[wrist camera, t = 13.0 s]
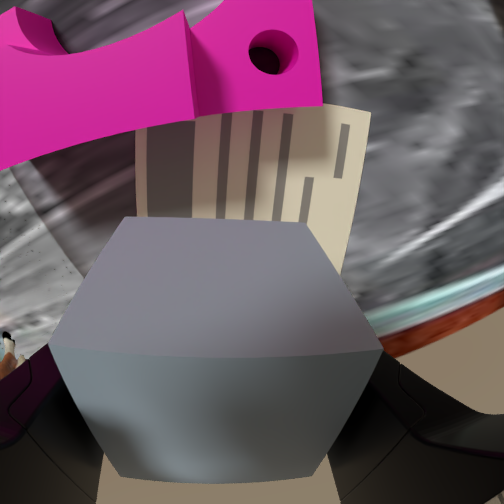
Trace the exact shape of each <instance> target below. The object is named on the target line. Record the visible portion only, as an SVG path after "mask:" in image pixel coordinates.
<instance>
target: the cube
mask: <svg viewBox="0 0 504 504" xmlns="http://www.w3.org/2000/svg"><path fill="white" fill-rule="evenodd" d="M48 345H49V348H50V350H51V353H52V355H53V357H54V360H55V362H56V364H57V366H58V369H59V371H60V373H61V375H62V377H63V379H64V382H65V384H66V386H67V388H68V390H69V392H70V394H71V396H72V398H73V400H74V402H75V403H76V405H77V407H78V409H79V411H80V413H81V415H82V416H83V418H84V420H85V422H86V424H87V425H88V427H89V429H90V430H91V432H92V434H93V435H94V437H95V439H96V440H97V442H98V444H99V445H100V447H101V448H102V450H103V451H104V453H105V455H106V456H107V457H108V459H109V461H110V462H111V464H112V465H113V466H114V468H115V469H116V471H117V472H118V474H119V475H120V476H121V477H127V478H135V479H143V480H152V481H163V482H177V483H205V484H208V483H209V484H220V483H221V484H224V483H250V482H265V481H276V480H286V479H294V478H302V477H309V476H312V475H313V474H314V472H315V471H316V469H317V468H318V466H319V465H320V463H321V462H322V460H323V458H324V457H325V456H326V454H327V452H328V451H329V449H330V448H331V446H332V445H333V443H334V441H335V440H336V438H337V436H338V435H339V433H340V431H341V430H342V428H343V426H344V425H345V423H346V421H347V419H348V418H349V416H350V414H351V412H352V411H353V409H354V407H355V405H356V403H357V402H358V400H359V398H360V396H361V394H362V392H363V390H364V388H365V386H366V385H367V383H368V381H369V379H370V377H371V375H372V373H373V371H374V369H375V366H376V364H377V362H378V360H379V358H380V356H381V354H382V352H383V349H384V348H383V346H382V345H381V343H380V341H379V339H378V338H377V336H376V334H375V333H374V331H373V329H372V328H371V326H370V324H369V323H368V321H367V319H366V317H365V316H364V314H363V312H362V311H361V309H360V308H359V306H358V304H357V303H356V301H355V299H354V298H353V296H352V294H351V293H350V291H349V290H348V288H347V286H346V285H345V283H344V282H343V280H342V278H341V277H340V275H339V274H338V272H337V271H336V269H335V267H334V266H333V264H332V263H331V261H330V260H329V258H328V256H327V255H326V253H325V252H324V250H323V249H322V247H321V246H320V244H319V243H318V241H317V240H316V238H315V237H314V235H313V234H312V232H311V231H310V229H309V228H308V226H307V225H306V223H302V222H283V221H262V220H238V219H211V218H175V217H124V219H123V220H122V222H121V223H120V224H119V226H118V227H117V229H116V230H115V232H114V233H113V235H112V236H111V238H110V239H109V241H108V242H107V244H106V245H105V247H104V248H103V250H102V251H101V253H100V254H99V256H98V257H97V259H96V261H95V262H94V264H93V265H92V267H91V269H90V270H89V272H88V273H87V275H86V277H85V278H84V280H83V282H82V283H81V285H80V287H79V288H78V290H77V292H76V293H75V295H74V297H73V299H72V300H71V302H70V304H69V306H68V307H67V309H66V311H65V313H64V315H63V316H62V318H61V320H60V322H59V324H58V326H57V327H56V329H55V331H54V333H53V335H52V337H51V339H50V341H49V343H48Z"/></svg>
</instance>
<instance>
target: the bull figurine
mask: <svg viewBox="0 0 504 504" xmlns="http://www.w3.org/2000/svg"><path fill="white" fill-rule="evenodd" d="M2 337H3V341H4V344H5V356H4V359H3V360H2V362H1V363H0V380H1V379H2V378H4V377H5V376H6V375H8V374H9V373H10V372H12V371H13V370H14V369H15V368H17V367H18V366H19V365H21V364H22V363H23V362H24V361H26V360H27V359H25V358H24V356H20V357H19V358H18V360H16V358H15V355H14V347H15V340H14V339H13V340H12V339H11V335H10V334H9V333H8V332H5V331H4V332H3V334H2Z"/></svg>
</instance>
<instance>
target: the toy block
mask: <svg viewBox="0 0 504 504" xmlns="http://www.w3.org/2000/svg"><path fill="white" fill-rule="evenodd" d="M255 47H265V48H268V49H270V50H272V51H273V52H274V53H275V54H276V55H277V57H278V59H279V63H280V67H279V71H278V73H277V75H271V74H266V73H264V72H262V71H260V70H258V69H257V68H256V67H255V66H254V65H253V63H252V62H251V60H250V58H249V53H248V50H250V49H252V48H255ZM315 106H323V99H322V86H321V75H320V64H319V54H318V45H317V36H316V28H315V20H314V12H313V5H312V0H224V1H223V2H222V3H221V4H220V5H219V6H218V7H217V8H216V9H215V10H214V11H213V12H211V13H210V14H209V15H208V16H206V17H205V18H204V19H203V20H201V21H200V22H199V23H197V24H196V25H194V26H193V27H192V28H189V25H188V22H187V19H186V17H185V14H184V11H183V10H182V11H180V12H178V13H177V14H175V15H173V16H171V17H170V18H168V19H166V20H165V21H163V22H161V23H159V24H157V25H155V26H153V27H151V28H149V29H147V30H145V31H143V32H140V33H138V34H136V35H134V36H131V37H129V38H127V39H124V40H121V41H118V42H116V43H113V44H110V45H107V46H104V47H100V48H97V49H94V50H89V51H85V52H80V53H74V54H68V53H67V52H66V51H65V50H64V49H63V47H62V46H61V45H60V43H59V42H58V40H57V38H56V36H55V34H54V31H53V28H52V23H51V20H49V19H47V18H44V17H42V16H39V15H37V14H34V13H32V12H29V11H26V10H24V9H21V8H18V7H13V8H12V9H10V10H8V11H6V12H5V13H3V14H1V15H0V171H1V170H3V169H6V168H8V167H11V166H13V165H16V164H19V163H21V162H24V161H27V160H30V159H33V158H36V157H38V156H41V155H44V154H48V153H51V152H54V151H57V150H60V149H63V148H67V147H70V146H73V145H77V144H80V143H84V142H88V141H91V140H95V139H99V138H103V137H107V136H111V135H115V134H119V133H123V132H128V131H132V130H137V129H142V128H146V127H151V126H156V125H162V124H167V123H173V122H179V121H185V120H191V119H196V118H198V117H200V116H207V115H214V114H222V113H230V112H240V111H250V110H261V109H274V108H290V107H315Z"/></svg>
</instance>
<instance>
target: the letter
mask: <svg viewBox="0 0 504 504" xmlns="http://www.w3.org/2000/svg"><path fill="white" fill-rule="evenodd" d="M370 117H371V112H366V111H362V110H357V109H352V108H347V107H342V106H336V105H331V104H325V103H323V106H315V107H290V108H274V109H261V110H250V111H240V112H230V113H222V114H214V115H207V116H200V117H198V118H196V119H191V120H185V121H179V122H173V123H167V124H162V125H156V126H151V127H146V128H142V129H137V130H135V176H136V206H137V217H175V218H211V219H238V220H262V221H283V222H302V223H306V225H307V226H308V228H309V229H310V231H311V232H312V234H313V235H314V237H315V238H316V240H317V241H318V243H319V244H320V246H321V247H322V249H323V250H324V252H325V253H326V255H327V256H328V258H329V260H330V261H331V263H332V264H333V266H334V267H335V269H336V271H337V272H338V274H339V275H340V273H341V269H342V265H343V260H344V256H345V252H346V248H347V243H348V239H349V235H350V230H351V225H352V221H353V216H354V211H355V206H356V201H357V196H358V191H359V186H360V180H361V175H362V169H363V163H364V157H365V151H366V145H367V138H368V132H369V125H370Z"/></svg>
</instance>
